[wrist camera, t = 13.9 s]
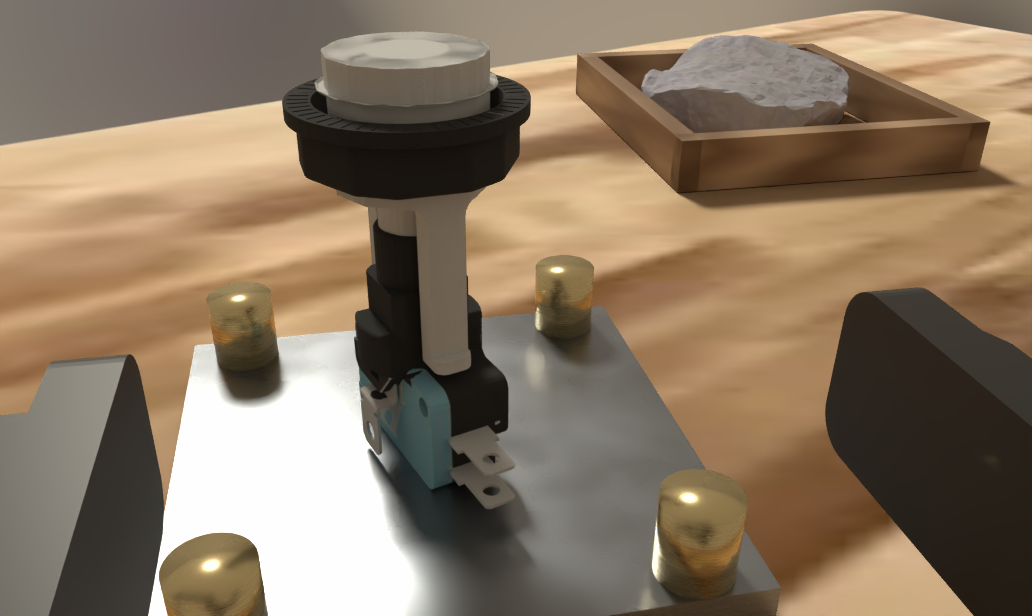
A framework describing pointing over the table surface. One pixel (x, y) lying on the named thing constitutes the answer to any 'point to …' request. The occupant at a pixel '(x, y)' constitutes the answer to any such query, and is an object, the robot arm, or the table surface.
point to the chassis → (450, 508)
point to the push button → (418, 235)
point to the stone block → (749, 86)
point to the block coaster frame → (784, 130)
